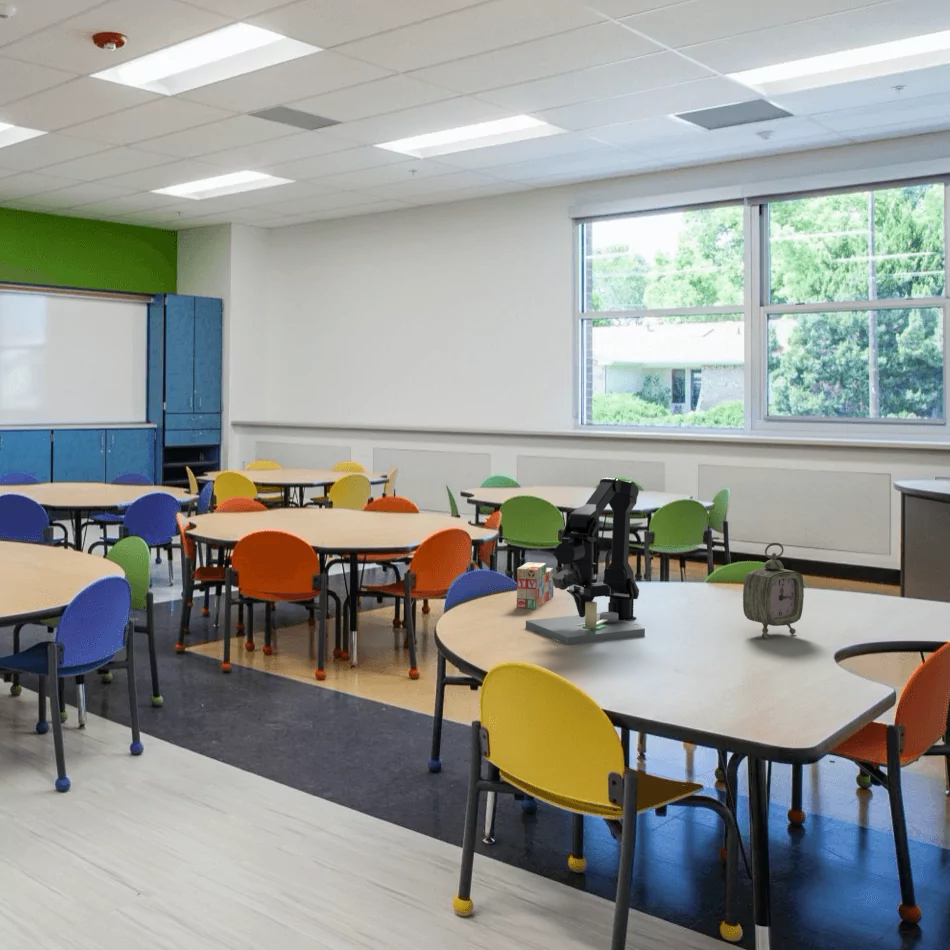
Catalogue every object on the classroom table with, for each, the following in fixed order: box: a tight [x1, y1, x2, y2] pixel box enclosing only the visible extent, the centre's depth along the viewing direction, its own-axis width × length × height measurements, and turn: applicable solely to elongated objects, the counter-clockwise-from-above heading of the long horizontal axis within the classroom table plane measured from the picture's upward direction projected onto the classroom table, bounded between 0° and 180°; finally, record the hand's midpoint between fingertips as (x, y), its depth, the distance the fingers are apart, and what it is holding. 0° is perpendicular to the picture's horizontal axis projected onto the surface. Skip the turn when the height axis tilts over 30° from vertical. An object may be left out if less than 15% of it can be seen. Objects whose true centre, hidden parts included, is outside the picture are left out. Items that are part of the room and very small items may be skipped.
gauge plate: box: [525, 612, 646, 646], centre depth 277 cm, size 24×22×2 cm
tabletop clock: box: [742, 542, 805, 640], centre depth 274 cm, size 14×9×25 cm, turn 122°
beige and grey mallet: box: [585, 600, 618, 628], centre depth 276 cm, size 16×5×7 cm, turn 149°
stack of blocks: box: [516, 561, 555, 610], centre depth 318 cm, size 21×6×12 cm, turn 162°
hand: (581, 617), depth 274 cm, fingers closed
